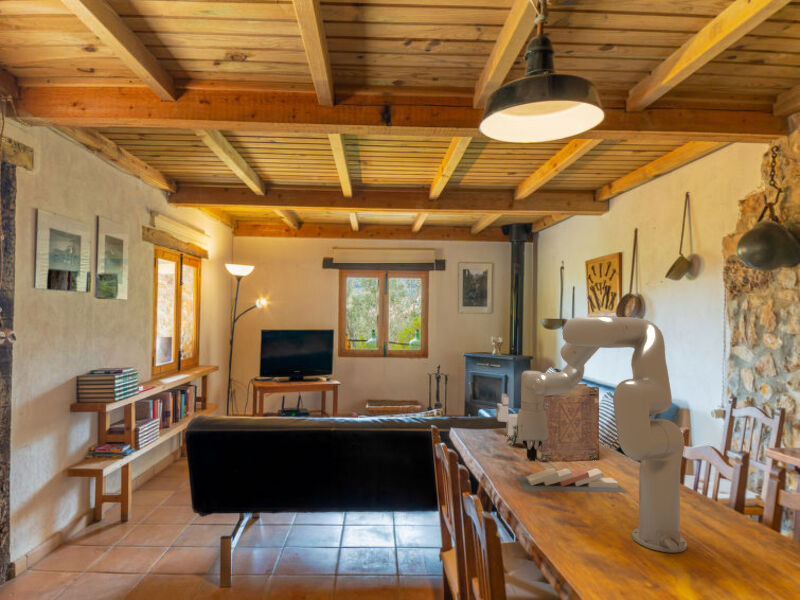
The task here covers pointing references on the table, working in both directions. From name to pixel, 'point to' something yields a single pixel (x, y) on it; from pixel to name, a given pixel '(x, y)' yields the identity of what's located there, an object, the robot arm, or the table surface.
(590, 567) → the table surface
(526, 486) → the domino mat
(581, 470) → the domino
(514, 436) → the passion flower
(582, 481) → the domino
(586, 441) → the book
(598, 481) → the domino
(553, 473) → the domino
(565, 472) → the domino
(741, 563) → the table surface
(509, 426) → the toy llama
